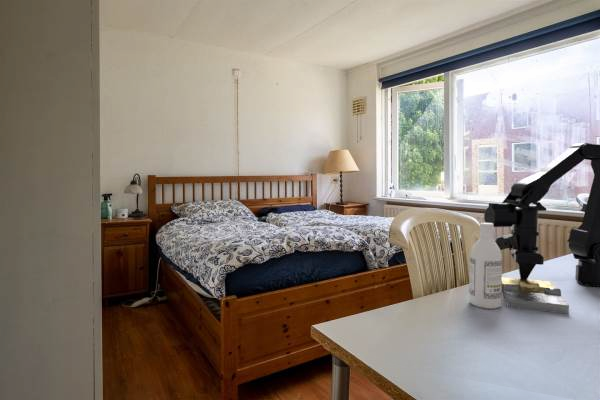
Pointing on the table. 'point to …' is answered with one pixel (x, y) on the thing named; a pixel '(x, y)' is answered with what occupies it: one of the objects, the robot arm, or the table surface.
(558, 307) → the fixed leaf
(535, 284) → the brass hinge plate
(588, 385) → the table surface
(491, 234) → the bath foam
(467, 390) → the table surface
